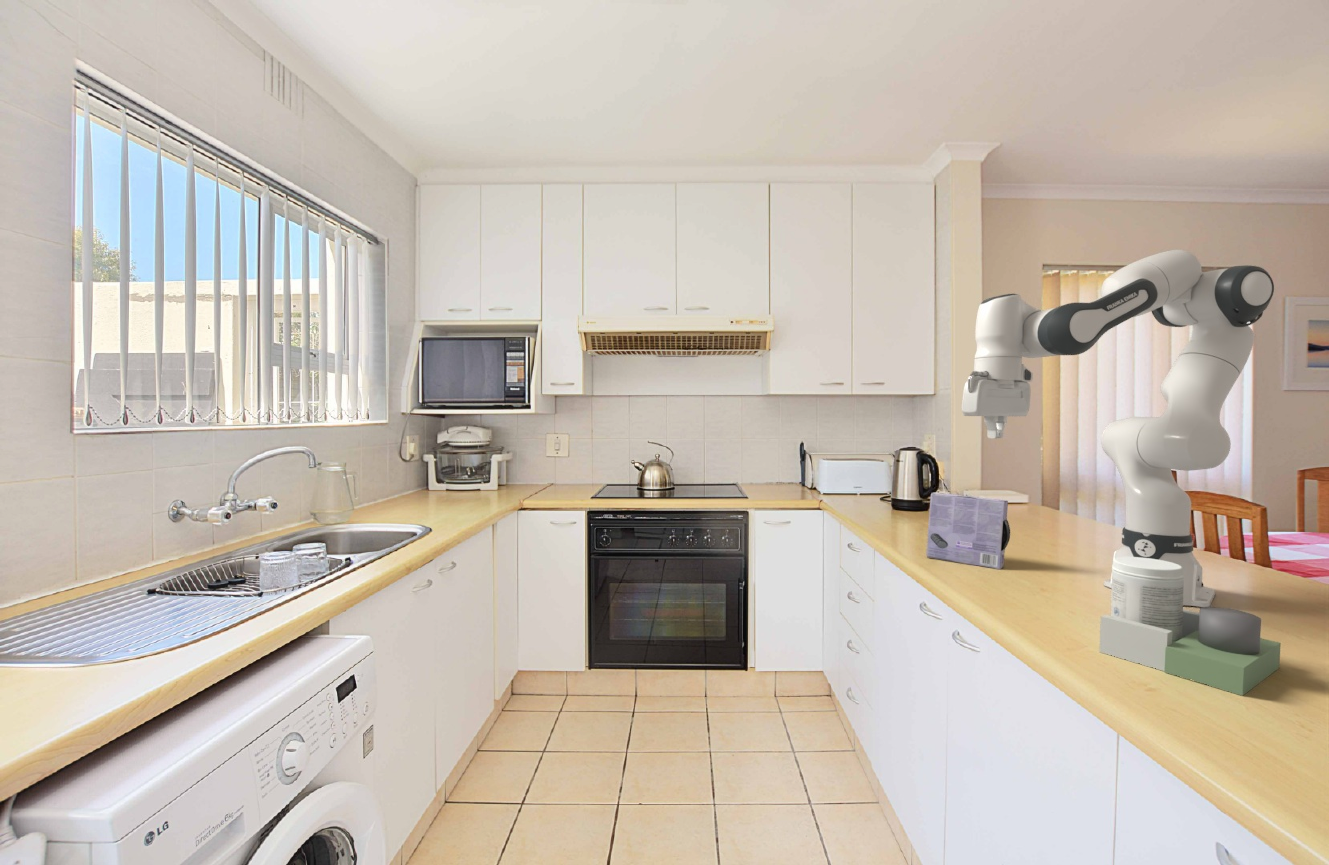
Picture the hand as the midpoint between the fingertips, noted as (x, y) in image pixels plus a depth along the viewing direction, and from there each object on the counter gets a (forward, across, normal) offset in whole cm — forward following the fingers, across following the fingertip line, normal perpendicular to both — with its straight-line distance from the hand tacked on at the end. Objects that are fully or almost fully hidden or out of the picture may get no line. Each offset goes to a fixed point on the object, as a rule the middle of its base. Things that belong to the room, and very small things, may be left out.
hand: (995, 438), depth 130 cm
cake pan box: (+34, +26, +20) cm, 47 cm away
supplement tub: (+34, -5, -29) cm, 45 cm away
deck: (+34, -5, -35) cm, 49 cm away
